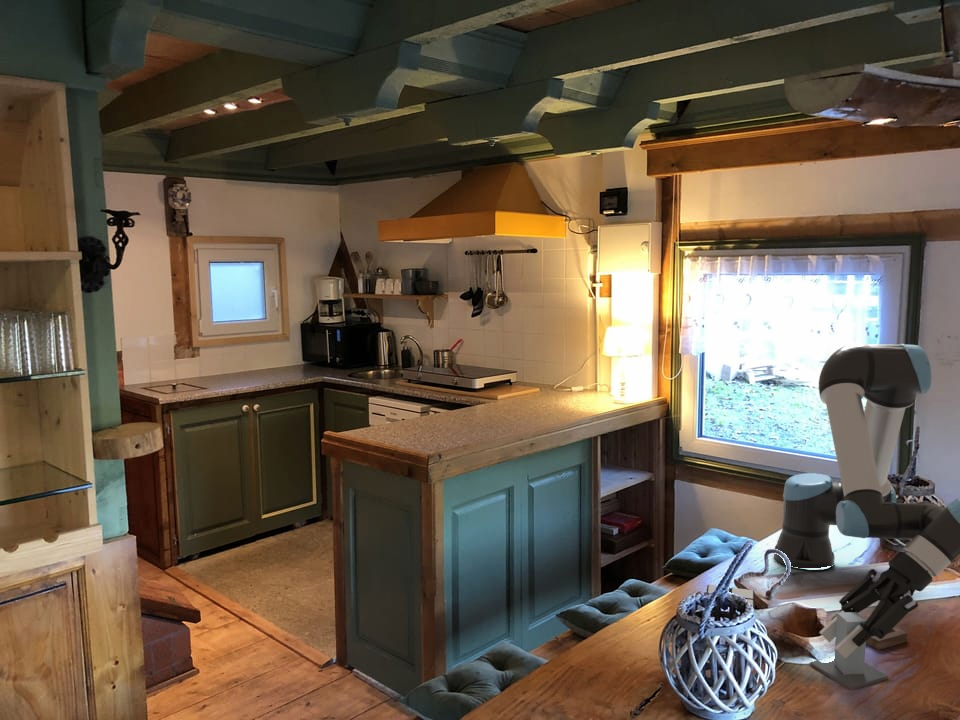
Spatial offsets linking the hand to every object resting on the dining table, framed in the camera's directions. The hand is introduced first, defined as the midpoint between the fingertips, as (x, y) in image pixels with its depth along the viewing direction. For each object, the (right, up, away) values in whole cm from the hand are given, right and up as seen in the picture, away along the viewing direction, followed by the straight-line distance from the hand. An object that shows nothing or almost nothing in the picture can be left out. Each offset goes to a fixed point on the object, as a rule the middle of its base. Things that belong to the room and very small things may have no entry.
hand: (832, 644), depth 155 cm
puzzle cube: (-16, -4, +14) cm, 22 cm away
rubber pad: (+4, -6, +1) cm, 7 cm away
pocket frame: (+16, -4, +15) cm, 22 cm away
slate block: (+4, -5, +1) cm, 6 cm away
